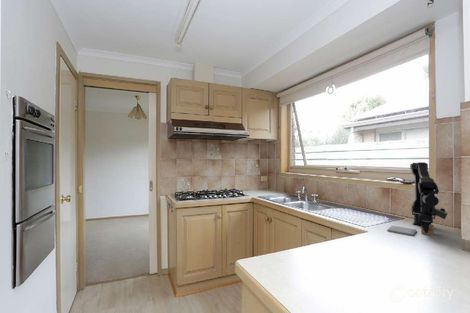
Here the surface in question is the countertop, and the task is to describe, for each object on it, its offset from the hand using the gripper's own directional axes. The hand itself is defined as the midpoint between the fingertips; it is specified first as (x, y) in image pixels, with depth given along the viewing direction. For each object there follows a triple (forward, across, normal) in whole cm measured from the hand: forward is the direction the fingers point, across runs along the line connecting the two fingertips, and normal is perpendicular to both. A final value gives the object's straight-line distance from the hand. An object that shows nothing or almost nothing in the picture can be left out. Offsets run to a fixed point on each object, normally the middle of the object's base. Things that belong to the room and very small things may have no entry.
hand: (427, 231), depth 133 cm
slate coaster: (+1, -5, +11) cm, 12 cm away
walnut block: (+2, 0, 0) cm, 2 cm away
